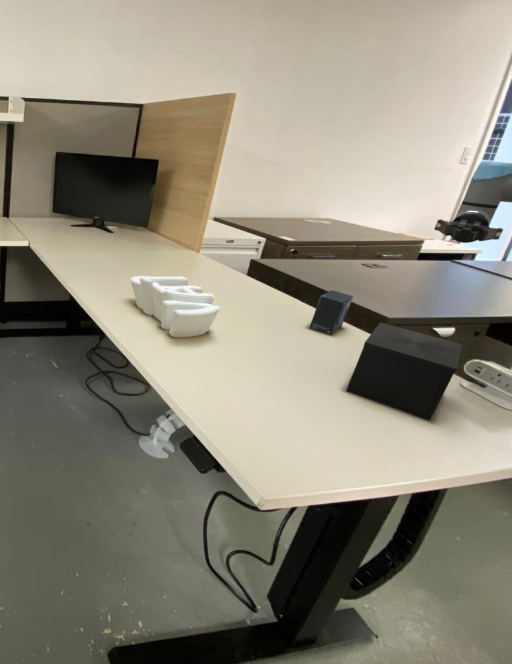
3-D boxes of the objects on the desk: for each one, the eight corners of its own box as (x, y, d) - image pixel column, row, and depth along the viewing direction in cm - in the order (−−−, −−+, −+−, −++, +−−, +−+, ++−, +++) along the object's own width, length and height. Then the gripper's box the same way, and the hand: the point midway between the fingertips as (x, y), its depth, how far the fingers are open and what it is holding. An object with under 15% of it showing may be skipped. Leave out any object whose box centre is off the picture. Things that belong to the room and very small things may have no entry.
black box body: (429, 421, 96) (455, 370, 91) (345, 391, 105) (364, 344, 100) (437, 393, 107) (460, 347, 102) (361, 368, 117) (378, 325, 112)
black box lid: (454, 372, 90) (456, 368, 90) (363, 345, 100) (365, 341, 99) (460, 347, 102) (462, 344, 102) (379, 325, 112) (380, 322, 111)
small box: (331, 335, 136) (343, 302, 131) (308, 328, 140) (319, 295, 135) (342, 327, 143) (354, 295, 138) (320, 320, 147) (331, 289, 142)
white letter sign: (224, 343, 124) (234, 307, 120) (167, 344, 121) (175, 307, 117) (169, 299, 155) (175, 268, 151) (122, 298, 152) (127, 267, 148)
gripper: (495, 246, 117) (493, 259, 101) (431, 236, 125) (421, 246, 109) (509, 216, 114) (510, 224, 98) (443, 207, 122) (434, 213, 106)
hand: (463, 236), depth 103 cm, fingers closed
